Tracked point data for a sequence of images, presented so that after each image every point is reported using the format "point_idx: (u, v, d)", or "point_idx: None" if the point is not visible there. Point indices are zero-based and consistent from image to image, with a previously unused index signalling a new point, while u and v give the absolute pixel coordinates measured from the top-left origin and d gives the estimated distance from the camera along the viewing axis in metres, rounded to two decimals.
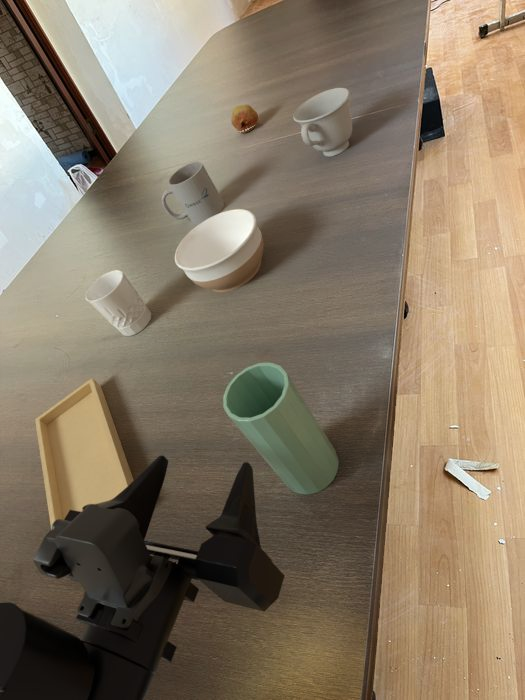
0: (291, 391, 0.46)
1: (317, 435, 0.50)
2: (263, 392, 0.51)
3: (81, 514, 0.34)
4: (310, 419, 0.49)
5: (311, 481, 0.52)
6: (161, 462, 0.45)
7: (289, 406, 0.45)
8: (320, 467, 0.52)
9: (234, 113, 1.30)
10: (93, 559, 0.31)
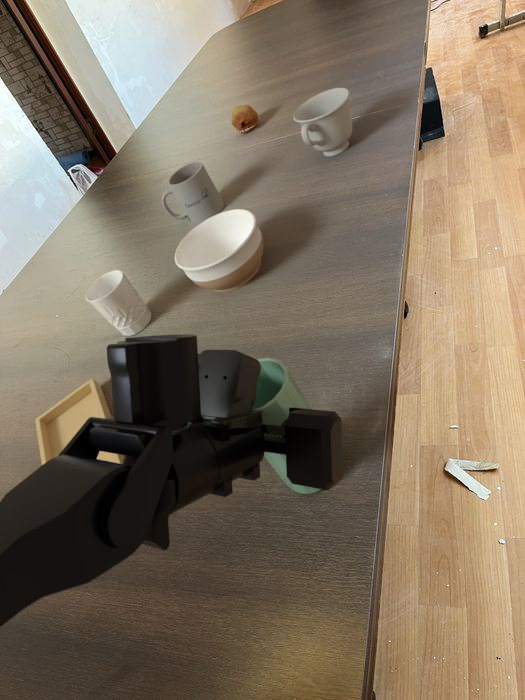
0: (291, 385, 0.46)
1: None
2: (264, 389, 0.52)
3: None
4: None
5: None
6: None
7: (289, 400, 0.46)
8: None
9: (234, 113, 1.30)
10: (226, 367, 0.41)
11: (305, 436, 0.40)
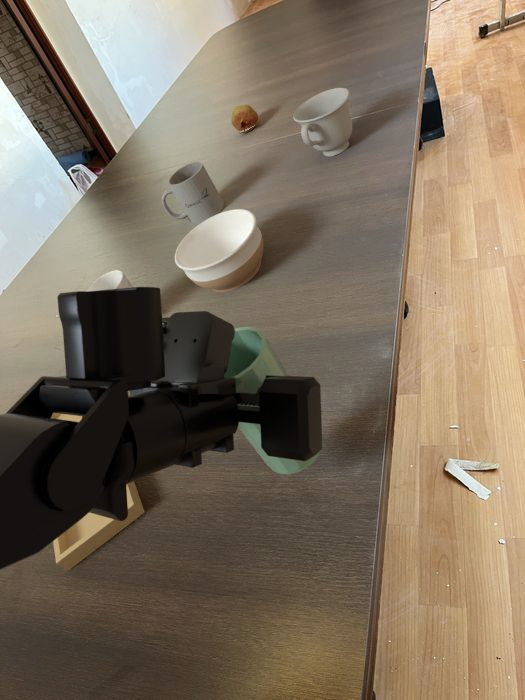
0: (269, 353, 0.43)
1: None
2: (242, 361, 0.49)
3: None
4: None
5: None
6: None
7: (266, 369, 0.43)
8: None
9: (234, 113, 1.30)
10: (196, 329, 0.38)
11: (280, 402, 0.37)
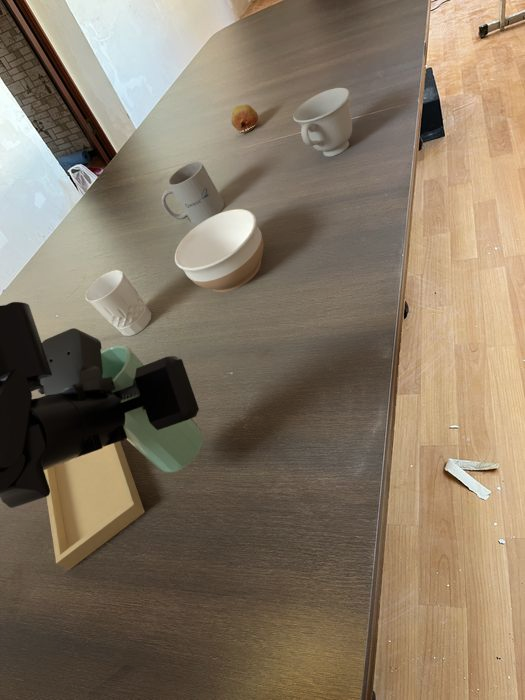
0: (134, 358, 0.51)
1: None
2: None
3: None
4: None
5: (181, 450, 0.56)
6: None
7: None
8: (185, 433, 0.56)
9: (234, 113, 1.30)
10: (67, 344, 0.45)
11: (154, 378, 0.45)
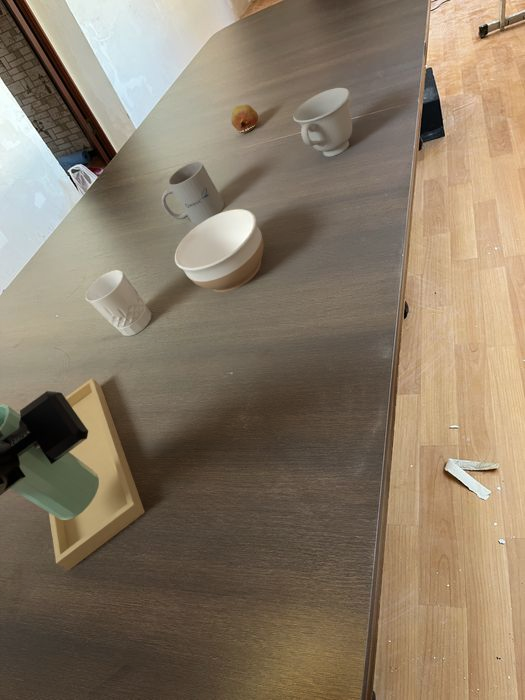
0: (14, 411, 0.55)
1: None
2: None
3: None
4: None
5: (79, 489, 0.59)
6: None
7: (18, 420, 0.54)
8: (79, 473, 0.59)
9: (234, 113, 1.30)
10: None
11: (40, 412, 0.49)
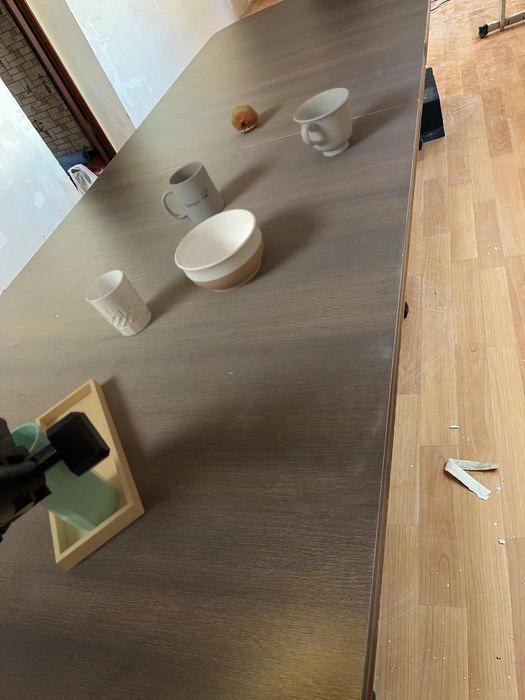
0: (43, 429, 0.57)
1: None
2: None
3: None
4: None
5: (102, 504, 0.62)
6: None
7: None
8: (101, 488, 0.62)
9: (234, 113, 1.30)
10: None
11: (65, 432, 0.52)
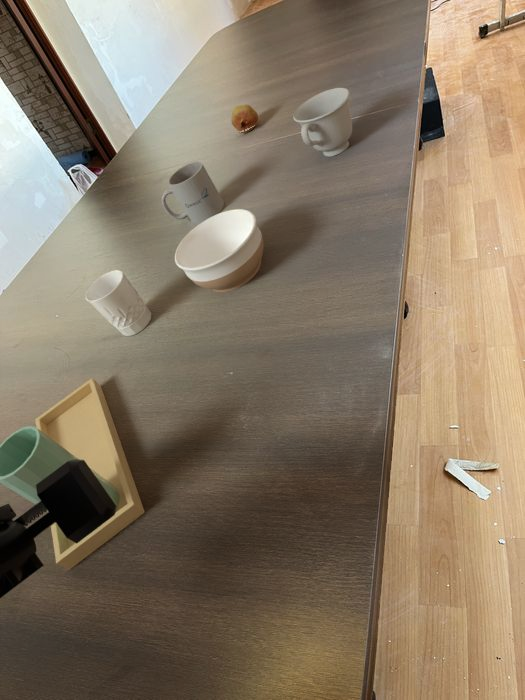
0: (43, 433, 0.57)
1: None
2: None
3: None
4: (71, 454, 0.60)
5: None
6: None
7: (48, 442, 0.56)
8: None
9: (234, 113, 1.30)
10: None
11: (60, 488, 0.42)
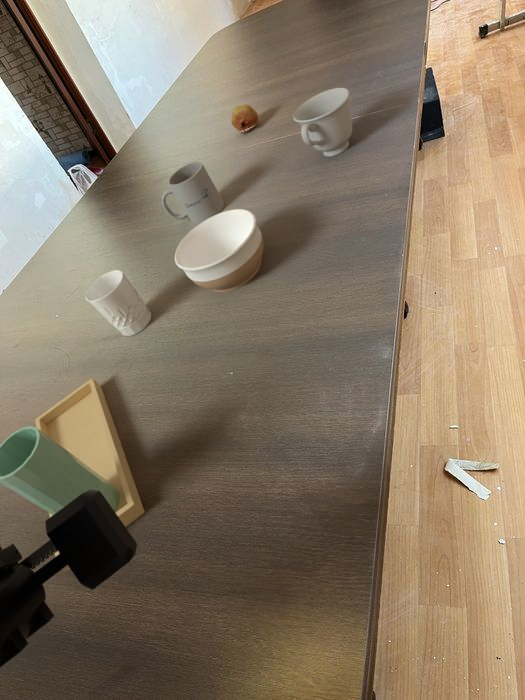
0: (43, 433, 0.57)
1: (84, 465, 0.61)
2: None
3: None
4: (71, 454, 0.60)
5: None
6: None
7: (48, 442, 0.56)
8: (102, 489, 0.62)
9: (234, 113, 1.30)
10: None
11: (74, 526, 0.36)
